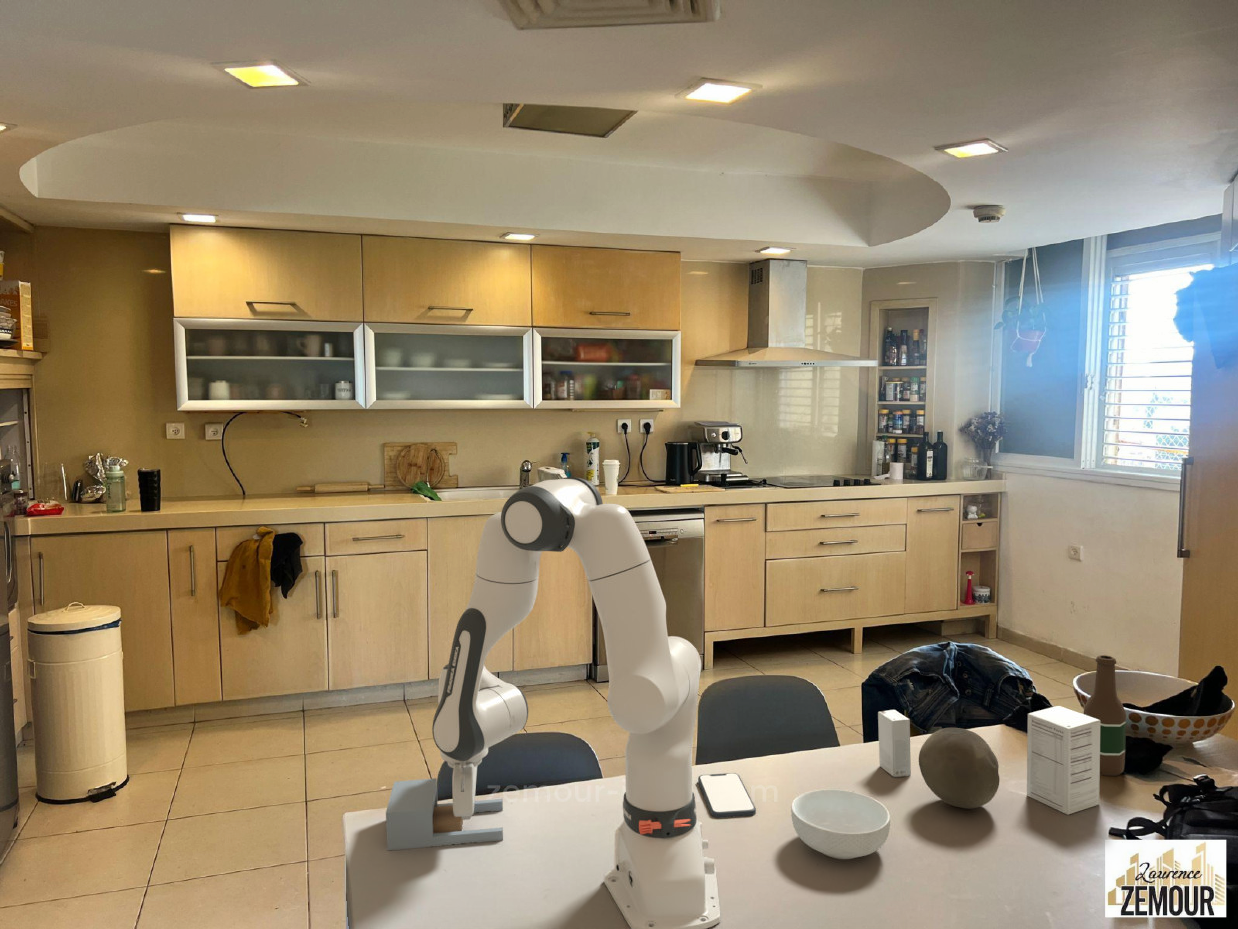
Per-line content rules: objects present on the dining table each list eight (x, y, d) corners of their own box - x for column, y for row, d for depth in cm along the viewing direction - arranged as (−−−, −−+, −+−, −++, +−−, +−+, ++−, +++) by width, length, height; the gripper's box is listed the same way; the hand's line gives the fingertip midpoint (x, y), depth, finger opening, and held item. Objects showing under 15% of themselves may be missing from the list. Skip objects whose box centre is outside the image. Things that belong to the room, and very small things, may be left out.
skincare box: (911, 775, 179) (912, 719, 178) (892, 778, 178) (892, 721, 177) (896, 763, 185) (896, 708, 184) (877, 765, 184) (877, 710, 183)
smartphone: (757, 818, 164) (738, 779, 180) (757, 810, 164) (738, 772, 180) (712, 821, 163) (696, 782, 179) (712, 813, 163) (696, 774, 179)
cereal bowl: (908, 849, 151) (909, 810, 151) (854, 886, 140) (854, 844, 140) (827, 814, 164) (827, 778, 163) (771, 846, 153) (771, 808, 152)
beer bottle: (1073, 764, 183) (1076, 653, 181) (1102, 758, 186) (1105, 649, 184) (1103, 779, 176) (1107, 664, 174) (1133, 773, 178) (1137, 660, 176)
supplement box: (1100, 805, 165) (1103, 720, 164) (1068, 816, 161) (1070, 729, 160) (1056, 785, 174) (1058, 704, 172) (1024, 795, 170) (1026, 712, 169)
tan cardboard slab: (461, 838, 158) (460, 822, 158) (405, 842, 157) (405, 827, 157) (463, 819, 165) (462, 804, 165) (410, 823, 164) (409, 808, 164)
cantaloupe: (950, 783, 175) (951, 712, 174) (1014, 811, 164) (1015, 734, 162) (904, 802, 168) (904, 728, 167) (967, 833, 156) (969, 753, 155)
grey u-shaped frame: (503, 840, 157) (501, 803, 156) (387, 850, 154) (385, 813, 153) (502, 807, 169) (501, 773, 168) (395, 816, 166) (394, 781, 166)
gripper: (479, 767, 151) (482, 843, 152) (482, 723, 171) (484, 790, 172) (443, 770, 150) (446, 846, 151) (450, 725, 170) (452, 792, 171)
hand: (466, 816), depth 162 cm, fingers closed
